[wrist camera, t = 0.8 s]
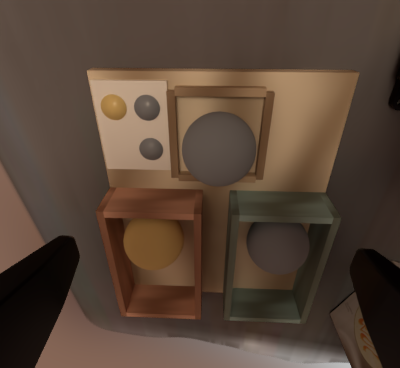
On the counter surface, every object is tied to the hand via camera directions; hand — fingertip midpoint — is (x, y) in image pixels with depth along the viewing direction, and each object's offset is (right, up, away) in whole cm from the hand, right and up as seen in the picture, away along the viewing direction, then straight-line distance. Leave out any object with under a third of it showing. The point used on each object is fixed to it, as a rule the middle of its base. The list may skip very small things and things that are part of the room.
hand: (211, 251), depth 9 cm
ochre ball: (-4, -1, +13) cm, 14 cm away
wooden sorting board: (+1, +1, +13) cm, 13 cm away
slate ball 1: (+1, +5, +9) cm, 11 cm away
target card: (-5, +6, +10) cm, 13 cm away
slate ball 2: (+5, -1, +13) cm, 14 cm away
